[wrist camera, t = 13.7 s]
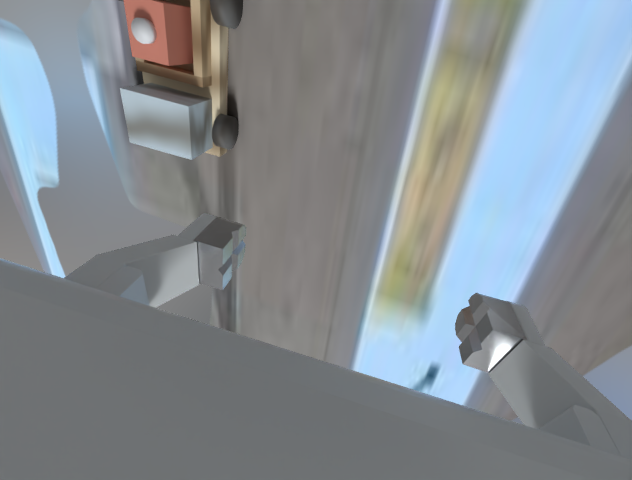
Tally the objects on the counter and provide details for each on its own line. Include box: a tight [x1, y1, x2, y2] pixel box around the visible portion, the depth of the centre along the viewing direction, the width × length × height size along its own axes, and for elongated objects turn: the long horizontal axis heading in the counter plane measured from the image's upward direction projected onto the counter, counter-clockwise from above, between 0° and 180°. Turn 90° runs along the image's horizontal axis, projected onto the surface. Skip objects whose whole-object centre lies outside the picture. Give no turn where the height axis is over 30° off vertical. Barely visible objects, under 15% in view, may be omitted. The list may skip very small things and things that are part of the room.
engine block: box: [124, 0, 193, 66], centre depth 30 cm, size 5×4×6 cm
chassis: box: [120, 0, 243, 160], centre depth 33 cm, size 20×13×7 cm, turn 169°
